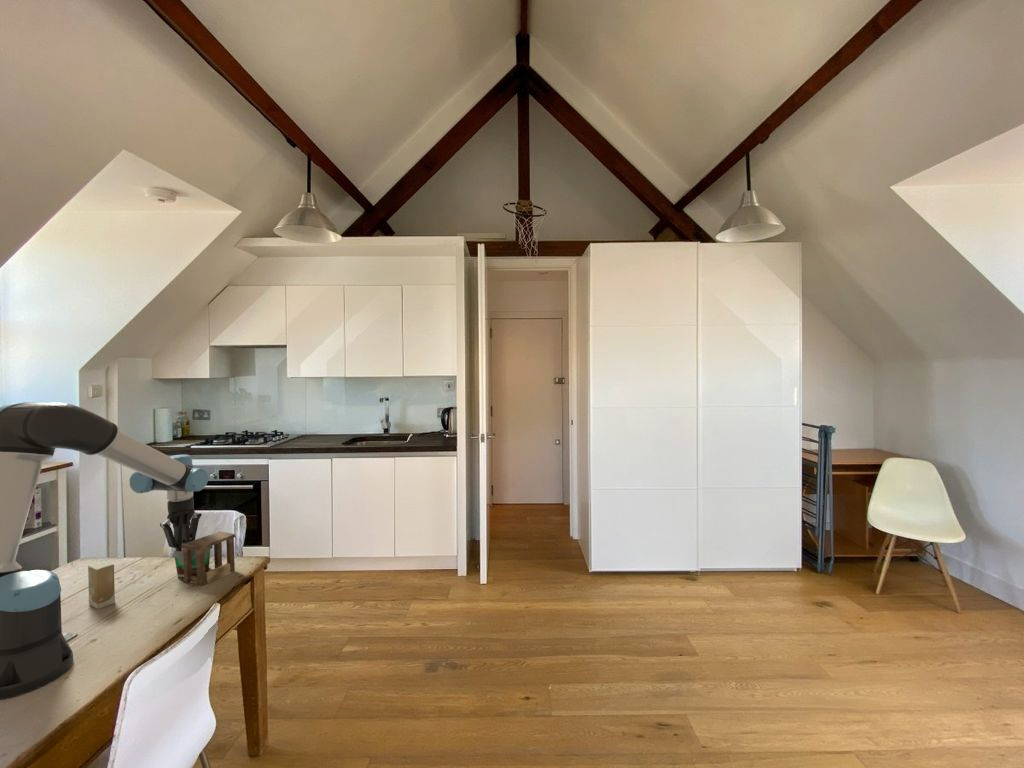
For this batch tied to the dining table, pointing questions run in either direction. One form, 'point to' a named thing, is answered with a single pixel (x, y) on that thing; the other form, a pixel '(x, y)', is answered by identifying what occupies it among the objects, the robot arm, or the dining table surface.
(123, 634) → the dining table surface
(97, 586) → the skincare box
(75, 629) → the dining table surface
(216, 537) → the small wooden bench
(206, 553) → the food container
